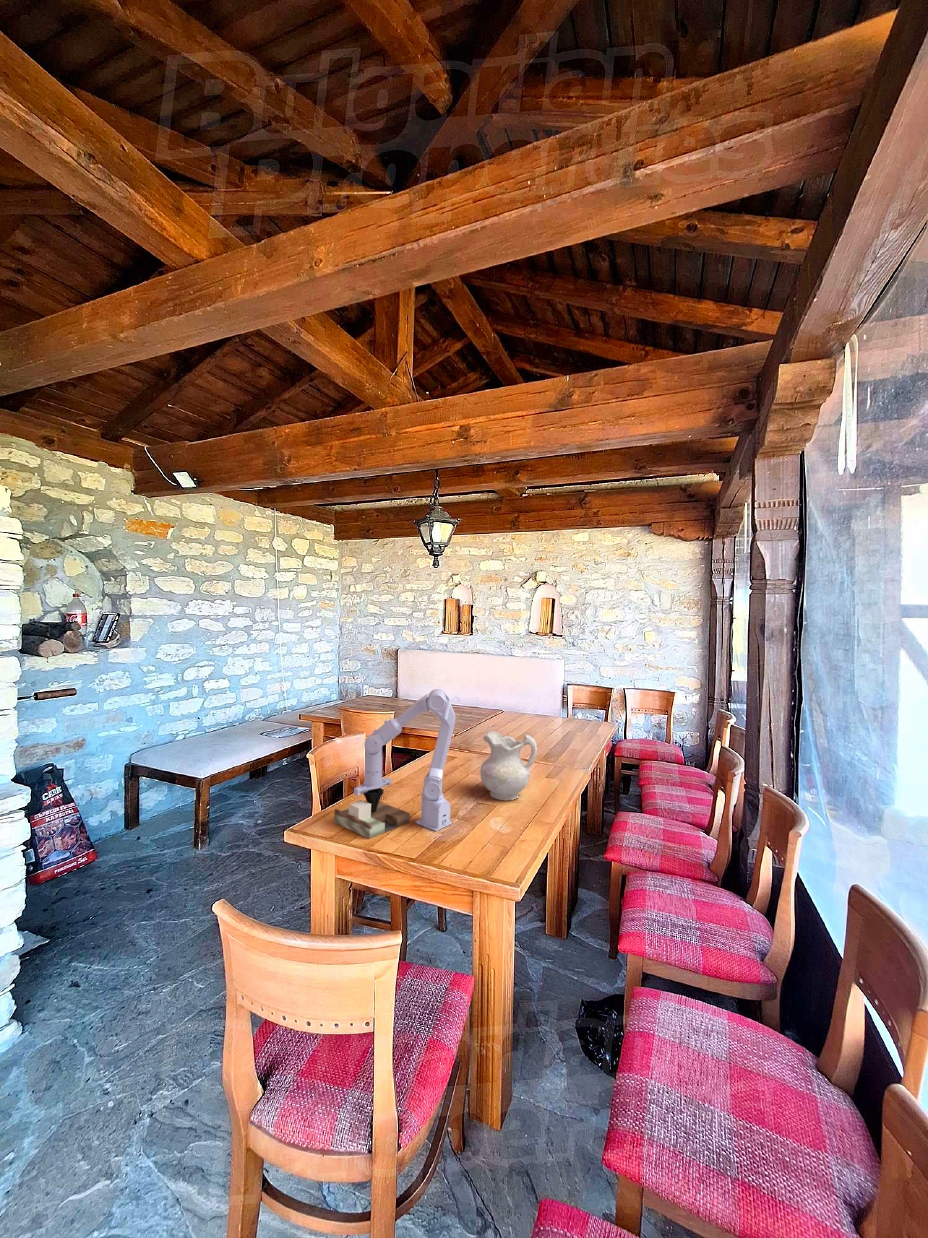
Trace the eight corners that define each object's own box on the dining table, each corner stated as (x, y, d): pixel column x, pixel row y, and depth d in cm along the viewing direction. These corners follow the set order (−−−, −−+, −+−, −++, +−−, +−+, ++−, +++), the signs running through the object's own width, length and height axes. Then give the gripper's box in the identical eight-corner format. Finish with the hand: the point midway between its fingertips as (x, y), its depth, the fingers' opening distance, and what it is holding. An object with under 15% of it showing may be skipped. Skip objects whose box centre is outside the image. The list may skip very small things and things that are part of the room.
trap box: (409, 822, 163) (409, 809, 163) (369, 839, 150) (370, 825, 150) (373, 808, 174) (374, 796, 174) (334, 822, 161) (334, 809, 161)
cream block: (370, 817, 158) (371, 803, 158) (358, 822, 154) (358, 808, 155) (360, 813, 162) (361, 800, 162) (348, 818, 158) (348, 804, 158)
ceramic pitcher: (534, 792, 198) (535, 730, 200) (536, 806, 179) (538, 737, 181) (481, 789, 200) (482, 727, 202) (478, 803, 181) (479, 734, 183)
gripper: (381, 763, 170) (380, 802, 170) (348, 772, 159) (347, 814, 159) (395, 767, 166) (394, 807, 166) (362, 777, 154) (361, 820, 154)
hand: (372, 811), depth 162 cm, fingers closed
